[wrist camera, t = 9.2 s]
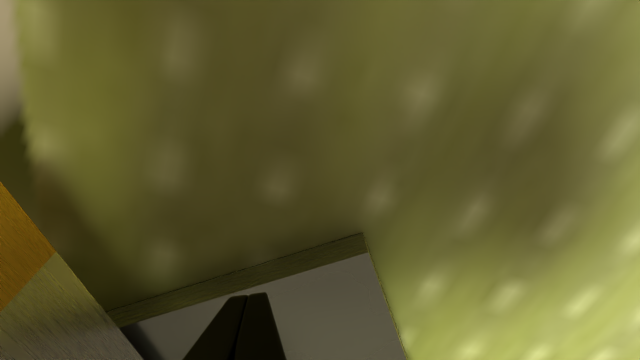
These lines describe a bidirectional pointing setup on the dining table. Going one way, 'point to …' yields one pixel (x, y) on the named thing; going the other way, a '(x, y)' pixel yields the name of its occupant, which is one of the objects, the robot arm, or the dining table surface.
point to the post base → (280, 307)
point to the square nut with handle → (47, 300)
